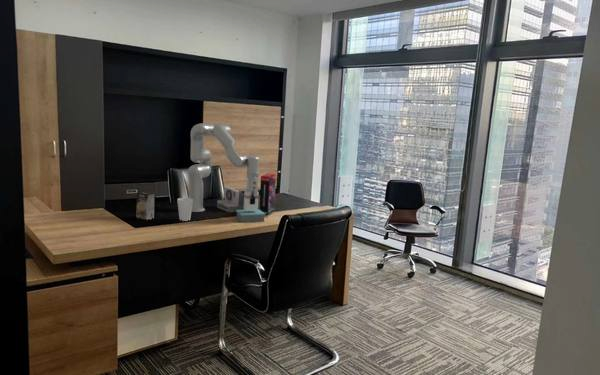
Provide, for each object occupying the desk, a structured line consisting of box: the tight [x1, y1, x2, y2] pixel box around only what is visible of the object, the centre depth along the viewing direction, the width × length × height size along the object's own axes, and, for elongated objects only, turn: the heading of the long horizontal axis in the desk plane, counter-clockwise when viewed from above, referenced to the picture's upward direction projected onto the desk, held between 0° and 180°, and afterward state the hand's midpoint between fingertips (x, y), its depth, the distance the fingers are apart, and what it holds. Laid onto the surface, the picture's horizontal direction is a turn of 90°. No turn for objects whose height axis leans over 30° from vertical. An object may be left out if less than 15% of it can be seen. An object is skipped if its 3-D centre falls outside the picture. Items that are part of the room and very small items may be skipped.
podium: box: [235, 209, 266, 223], centre depth 285 cm, size 16×13×5 cm
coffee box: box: [135, 190, 155, 221], centre depth 270 cm, size 9×6×16 cm
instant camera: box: [216, 186, 244, 213], centre depth 313 cm, size 21×21×15 cm
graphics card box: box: [259, 173, 277, 216], centre depth 305 cm, size 17×7×27 cm, turn 168°
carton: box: [243, 190, 260, 211], centre depth 283 cm, size 6×8×12 cm
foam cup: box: [176, 197, 193, 222], centre depth 273 cm, size 10×9×13 cm
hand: (250, 202), depth 284 cm, fingers closed on carton, 5 cm apart
